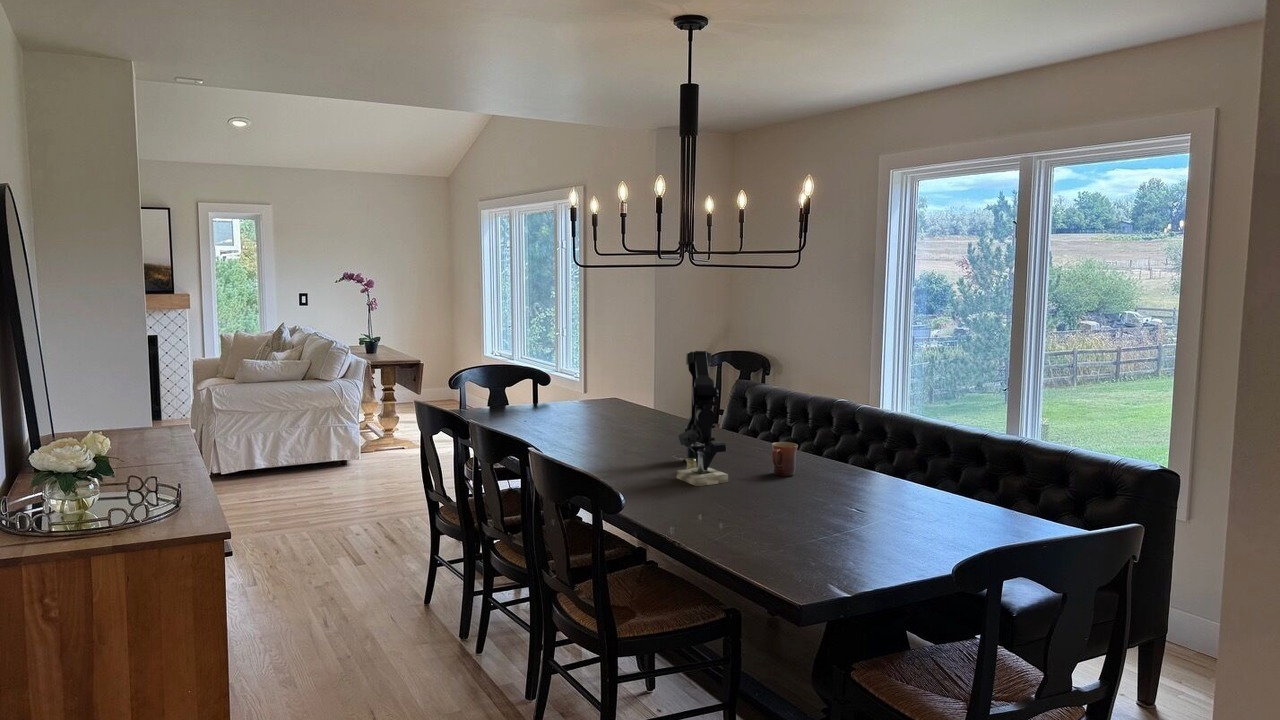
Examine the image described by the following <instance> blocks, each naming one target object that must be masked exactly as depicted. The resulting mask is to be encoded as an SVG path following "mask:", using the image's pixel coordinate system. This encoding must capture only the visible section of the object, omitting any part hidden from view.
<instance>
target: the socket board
mask: <svg viewBox="0 0 1280 720" xmlns="http://www.w3.org/2000/svg"><path fill="white" fill-rule="evenodd" d="M676 479H677V480H680V481H683V482H686V483H688V484H690V485H693V486H695V487H703V486H707V485H708V486H711V485H718V484H725V483H726V484H727V483H728V482H729V473H725V472H723V471H720V470H717V469H714V468H712V467H710V466H709V467H708V469H707V474H699V473H698V467H696V468H693V469H687V468H685V469H677V470H676Z"/></svg>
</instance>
